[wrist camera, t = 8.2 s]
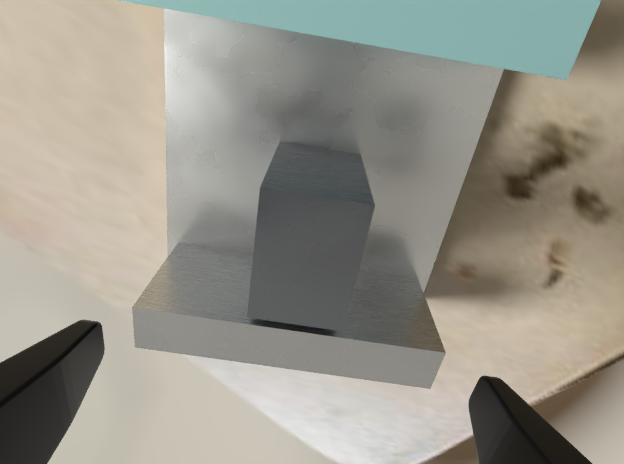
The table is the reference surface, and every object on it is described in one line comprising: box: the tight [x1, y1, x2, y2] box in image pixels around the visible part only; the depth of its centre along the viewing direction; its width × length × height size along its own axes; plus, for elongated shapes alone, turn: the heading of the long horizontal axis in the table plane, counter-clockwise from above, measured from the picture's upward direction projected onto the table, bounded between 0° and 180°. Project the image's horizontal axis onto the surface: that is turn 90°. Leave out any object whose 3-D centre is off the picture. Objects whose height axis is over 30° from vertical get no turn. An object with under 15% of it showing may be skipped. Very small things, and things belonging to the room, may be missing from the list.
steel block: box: [247, 141, 375, 331], centre depth 15 cm, size 4×5×6 cm
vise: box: [132, 8, 504, 389], centre depth 15 cm, size 13×17×6 cm
